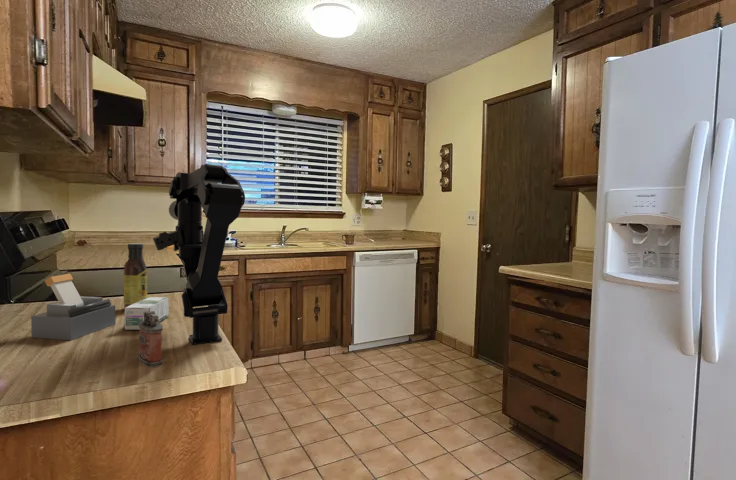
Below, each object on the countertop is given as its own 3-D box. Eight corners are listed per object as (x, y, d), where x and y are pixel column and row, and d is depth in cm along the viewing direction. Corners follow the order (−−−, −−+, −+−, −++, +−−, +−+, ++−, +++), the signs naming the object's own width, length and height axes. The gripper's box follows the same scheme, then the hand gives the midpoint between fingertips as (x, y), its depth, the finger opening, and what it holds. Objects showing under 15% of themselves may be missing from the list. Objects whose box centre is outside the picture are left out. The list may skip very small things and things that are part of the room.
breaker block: (115, 324, 107) (115, 296, 107) (71, 340, 93) (71, 308, 93) (80, 321, 108) (79, 294, 108) (31, 337, 94) (31, 305, 94)
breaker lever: (87, 305, 103) (70, 273, 103) (69, 310, 97) (50, 276, 97) (81, 309, 103) (64, 277, 103) (63, 314, 98) (44, 280, 98)
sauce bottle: (146, 310, 123) (146, 244, 122) (122, 311, 120) (122, 244, 119) (147, 305, 129) (148, 242, 128) (124, 306, 126) (124, 242, 125)
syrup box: (148, 316, 116) (124, 331, 102) (147, 296, 116) (123, 308, 101) (169, 316, 117) (148, 331, 102) (168, 295, 116) (147, 307, 102)
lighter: (135, 357, 84) (135, 309, 83) (152, 353, 86) (153, 307, 86) (147, 368, 78) (147, 317, 78) (166, 364, 81) (166, 314, 80)
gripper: (153, 219, 110) (153, 276, 111) (157, 222, 94) (156, 288, 95) (197, 220, 116) (196, 275, 117) (208, 223, 100) (207, 286, 101)
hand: (189, 280), depth 107 cm, fingers closed
